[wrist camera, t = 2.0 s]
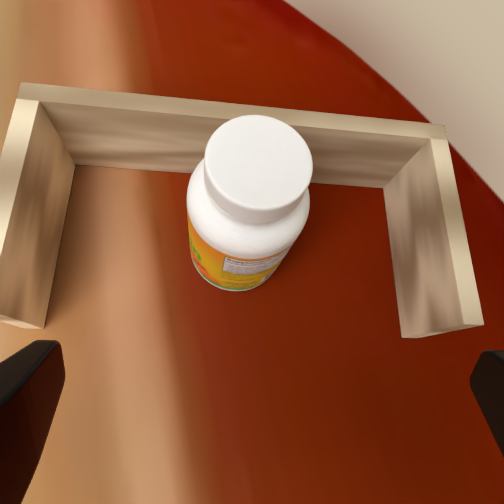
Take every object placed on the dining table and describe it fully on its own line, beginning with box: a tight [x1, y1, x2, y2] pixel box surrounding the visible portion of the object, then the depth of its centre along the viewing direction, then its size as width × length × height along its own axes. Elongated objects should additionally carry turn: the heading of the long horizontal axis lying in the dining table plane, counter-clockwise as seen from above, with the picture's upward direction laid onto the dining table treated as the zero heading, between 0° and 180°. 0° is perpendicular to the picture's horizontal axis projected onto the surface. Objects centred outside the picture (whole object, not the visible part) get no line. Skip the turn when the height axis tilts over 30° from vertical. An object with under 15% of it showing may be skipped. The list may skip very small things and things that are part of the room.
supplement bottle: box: [187, 115, 313, 291], centre depth 18 cm, size 5×5×10 cm
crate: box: [0, 82, 484, 338], centre depth 20 cm, size 11×22×6 cm, turn 89°
